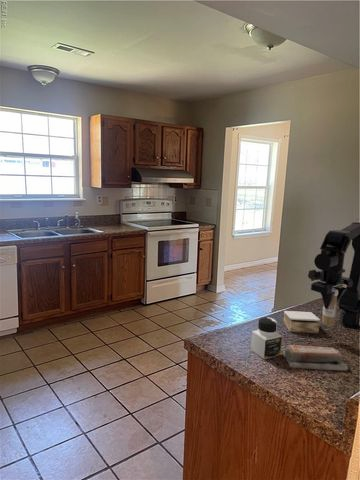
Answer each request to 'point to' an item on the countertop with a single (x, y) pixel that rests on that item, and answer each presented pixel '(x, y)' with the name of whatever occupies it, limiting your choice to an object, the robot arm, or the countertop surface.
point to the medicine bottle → (266, 339)
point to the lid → (301, 316)
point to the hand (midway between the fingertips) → (329, 306)
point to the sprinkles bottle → (330, 311)
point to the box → (301, 325)
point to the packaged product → (314, 357)
